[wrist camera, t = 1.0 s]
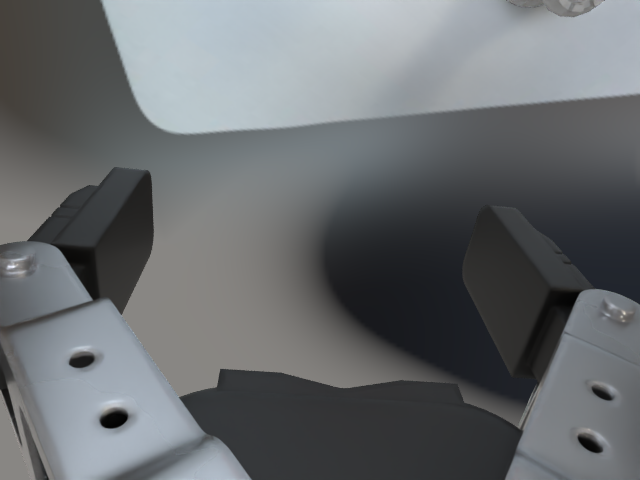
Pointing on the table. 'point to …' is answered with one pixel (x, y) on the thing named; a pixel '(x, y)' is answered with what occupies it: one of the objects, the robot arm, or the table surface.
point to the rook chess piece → (561, 6)
